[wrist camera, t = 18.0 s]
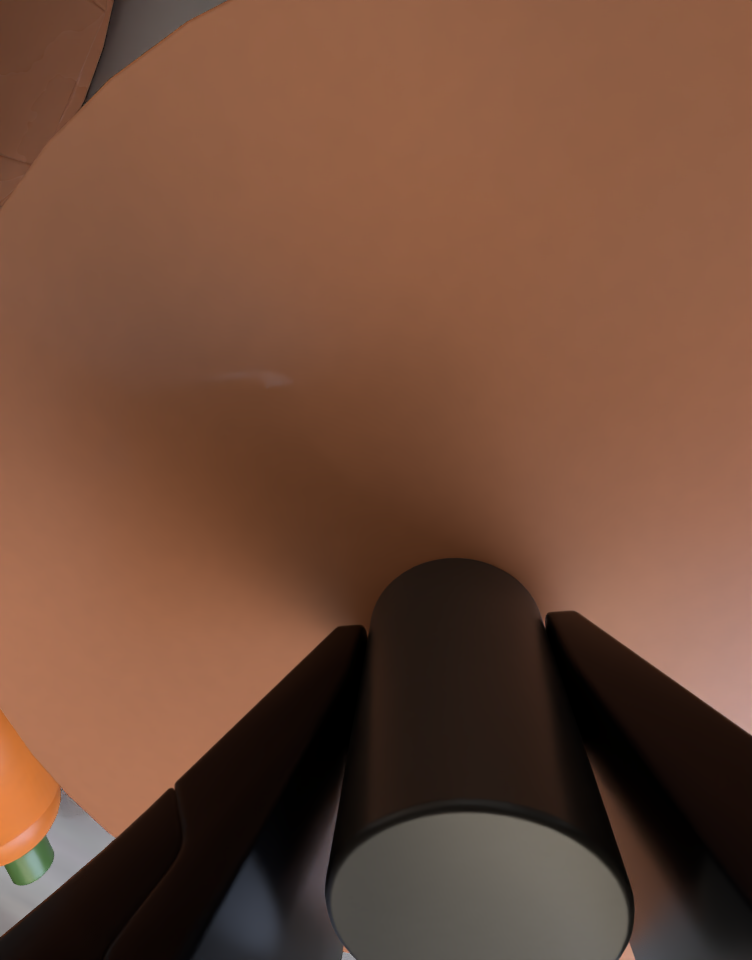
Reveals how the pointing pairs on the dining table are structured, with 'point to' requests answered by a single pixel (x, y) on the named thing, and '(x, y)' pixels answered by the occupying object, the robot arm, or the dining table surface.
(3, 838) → the carrot
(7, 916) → the dining table surface
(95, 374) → the lid
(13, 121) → the faceted terracotta bowl
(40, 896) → the dining table surface
